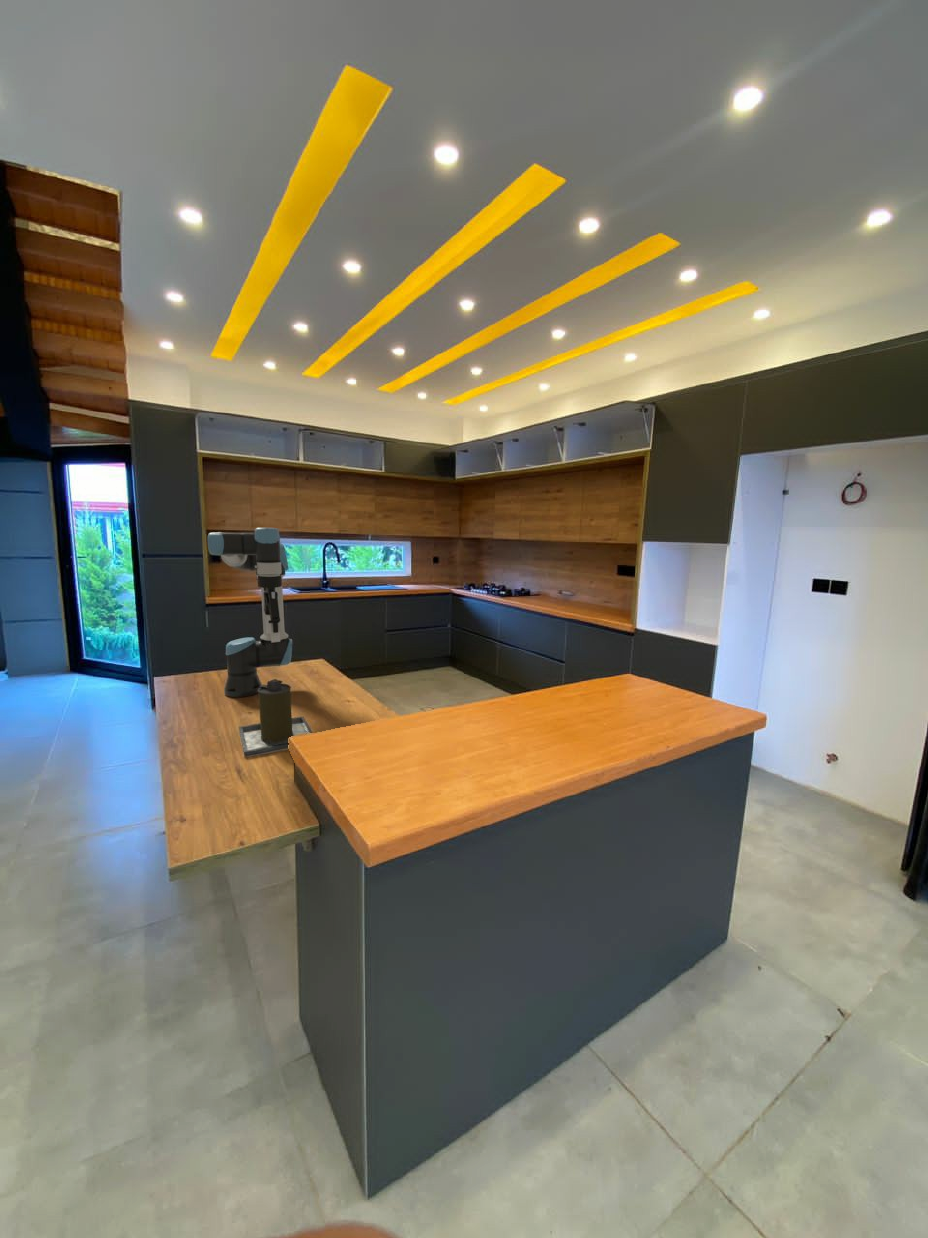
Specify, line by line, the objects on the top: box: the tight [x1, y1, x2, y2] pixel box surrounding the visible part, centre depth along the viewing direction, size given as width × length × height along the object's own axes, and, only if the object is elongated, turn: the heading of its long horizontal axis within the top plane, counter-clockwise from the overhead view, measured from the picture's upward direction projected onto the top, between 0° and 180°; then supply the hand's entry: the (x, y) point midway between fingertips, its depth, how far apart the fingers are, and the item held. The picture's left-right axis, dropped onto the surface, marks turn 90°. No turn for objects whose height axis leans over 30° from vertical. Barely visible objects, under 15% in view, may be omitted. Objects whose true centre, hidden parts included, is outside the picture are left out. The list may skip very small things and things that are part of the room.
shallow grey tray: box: [238, 715, 314, 758], centre depth 166 cm, size 22×22×2 cm
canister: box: [258, 678, 293, 743], centre depth 164 cm, size 11×10×20 cm
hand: (273, 637), depth 164 cm, fingers open, 13 cm apart
